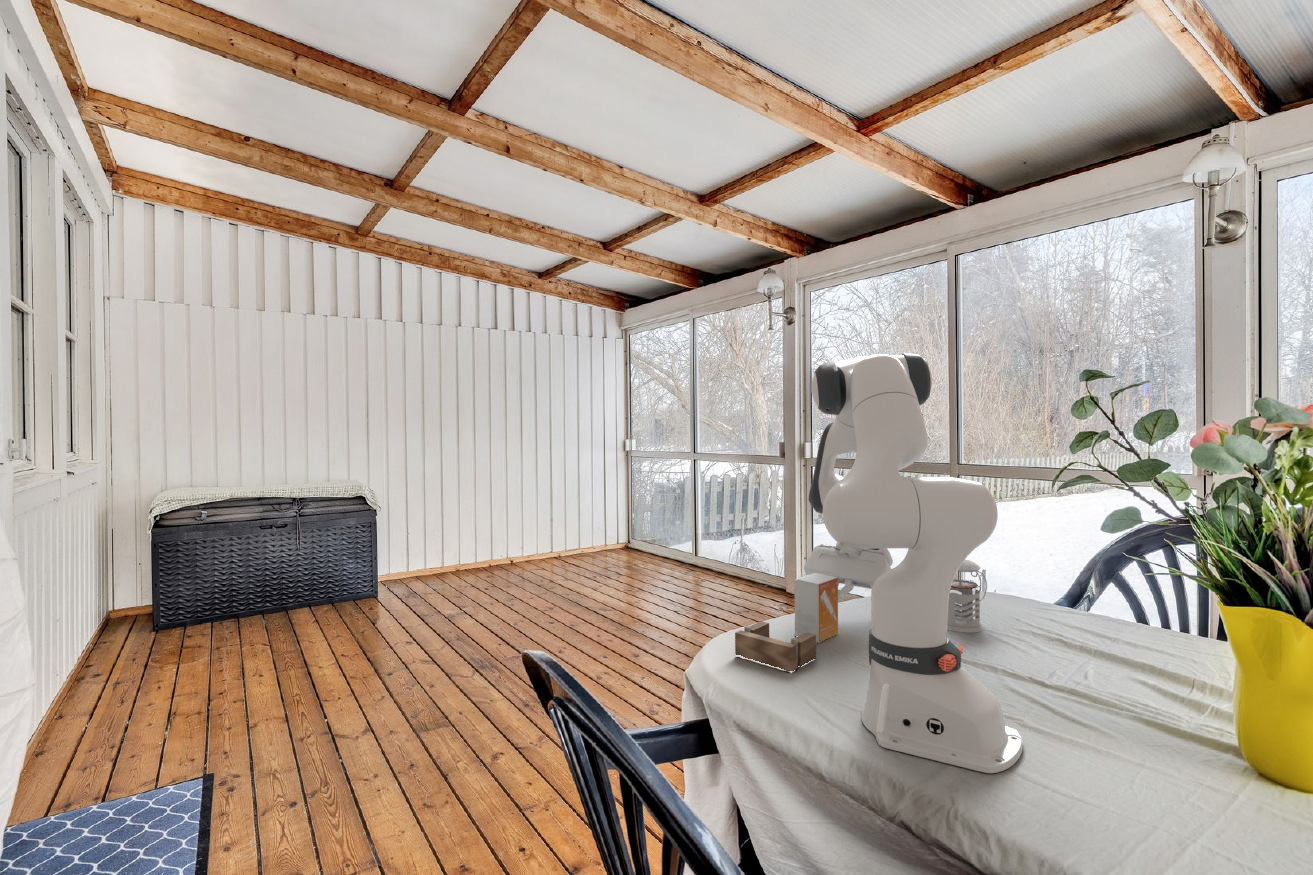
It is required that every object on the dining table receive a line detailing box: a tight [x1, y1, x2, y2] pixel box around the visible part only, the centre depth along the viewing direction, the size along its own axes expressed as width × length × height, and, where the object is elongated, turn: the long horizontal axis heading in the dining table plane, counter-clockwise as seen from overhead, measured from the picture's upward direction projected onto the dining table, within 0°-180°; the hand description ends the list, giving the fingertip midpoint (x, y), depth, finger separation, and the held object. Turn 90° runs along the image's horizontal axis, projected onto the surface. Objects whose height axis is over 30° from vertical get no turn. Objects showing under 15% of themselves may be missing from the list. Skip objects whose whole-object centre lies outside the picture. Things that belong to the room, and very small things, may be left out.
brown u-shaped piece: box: [734, 620, 817, 671], centre depth 129 cm, size 13×10×6 cm
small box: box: [793, 573, 839, 644], centre depth 141 cm, size 8×6×13 cm
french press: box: [947, 559, 988, 634], centre depth 146 cm, size 10×12×25 cm
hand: (836, 597), depth 148 cm, fingers closed
